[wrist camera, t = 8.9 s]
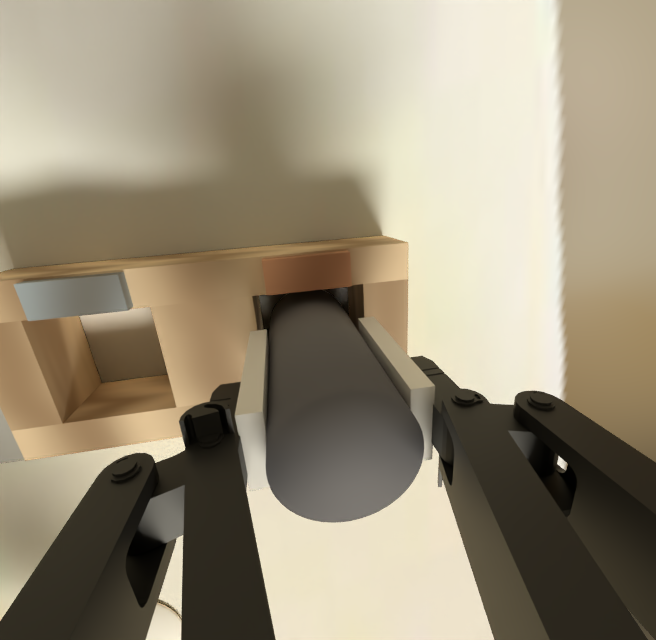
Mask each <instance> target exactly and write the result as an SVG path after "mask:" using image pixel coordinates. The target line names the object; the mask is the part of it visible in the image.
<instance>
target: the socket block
mask: <svg viewBox="0 0 656 640" xmlns="http://www.w3.org/2000/svg"><path fill="white" fill-rule="evenodd" d="M341 287H348V303H349V318H350V319H351V321H352V322H353V324H354V325H355V327H356V328H357V330H358V332H359V323H358V318H366V317H374V318H375V319H376V320H377V321H378V322H379V323H380V324H381V325H382V327H383V328H384V329H385V330H386V331H387V332H388V333H389V334H390V336H391V337H392V338H393V339H394V340H395V341H396V342H397V343H398V345H399V346H400V347H401V348H402V349H403V350H404V351H405V352H406V354H407V328H408V242H404V241H401V240H397V239H394V238H390V237H387V236H383V235H382V236H371V237H360V238H349V239H338V240H327V241H316V242H305V243H293V244H282V245H271V246H260V247H249V248H238V249H227V250H216V251H205V252H194V253H183V254H172V255H161V256H150V257H139V258H128V259H117V260H105V261H94V262H83V263H72V264H61V265H50V266H39V267H28V268H17V269H11V270H7V271H3V272H0V408H1V410H2V412H3V415H4V417H5V419H6V421H7V423H8V425H9V427H10V429H11V431H12V434H13V436H14V438H15V440H16V442H17V444H18V446H19V448H20V451H21V453H22V455H23V457H24V459H25V461H27V460H33V459H40V458H46V457H53V456H59V455H66V454H72V453H79V452H85V451H92V450H98V449H105V448H112V447H118V446H125V445H131V444H138V443H144V442H151V441H157V440H164V439H170V438H177V437H183V436H182V432H181V429H180V425H179V420H180V417H181V416H182V415H183V414H184V413H185V412H186V411H187V410H188V409H190V408H192V407H194V406H196V405H199V404H201V403H205V402H210V398H211V395H212V392H213V391H214V390H215V389H216V388H217V387H218V386H219V385H221V384H228V383H235V382H241V378H242V373H243V368H244V362H245V357H246V351H247V346H248V340H249V335H250V331H258V330H264V328H263V321H262V314H261V307H260V300H259V295H277V294H286V293H295V292H304V291H314V290H323V289H332V288H341ZM145 307H150V308H151V312H152V316H153V319H154V323H155V327H156V331H157V335H158V338H159V342H160V346H161V350H162V354H163V357H164V361H165V365H166V369H167V373H168V374H167V375H160V376H152V377H144V378H137V379H129V380H122V381H114V382H106V383H101V380H100V377H99V374H98V371H97V368H96V365H95V362H94V359H93V356H92V353H91V350H90V348H89V345H88V342H87V339H86V336H85V333H84V330H83V327H82V324H81V321H80V318H79V316H82V315H91V314H100V313H110V312H119V311H128V310H129V309H136V308H145Z"/></svg>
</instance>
